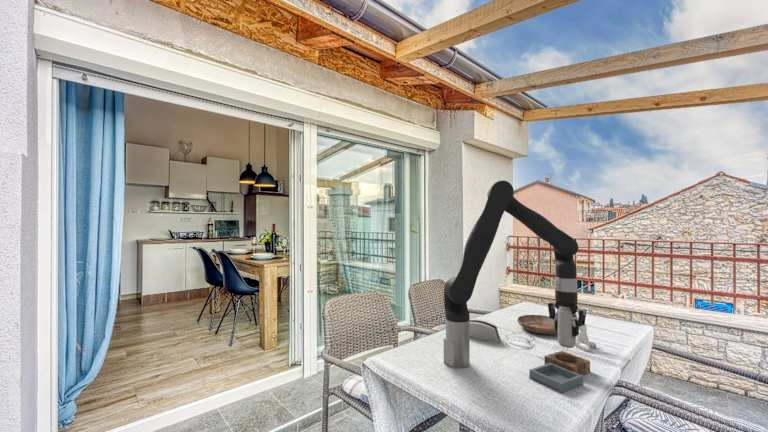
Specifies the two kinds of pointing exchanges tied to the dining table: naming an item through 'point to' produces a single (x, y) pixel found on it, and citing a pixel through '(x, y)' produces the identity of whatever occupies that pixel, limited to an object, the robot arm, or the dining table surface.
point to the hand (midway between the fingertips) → (566, 333)
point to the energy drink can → (565, 328)
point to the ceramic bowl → (538, 324)
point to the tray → (556, 377)
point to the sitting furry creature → (584, 340)
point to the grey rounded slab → (484, 330)
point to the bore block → (568, 362)
